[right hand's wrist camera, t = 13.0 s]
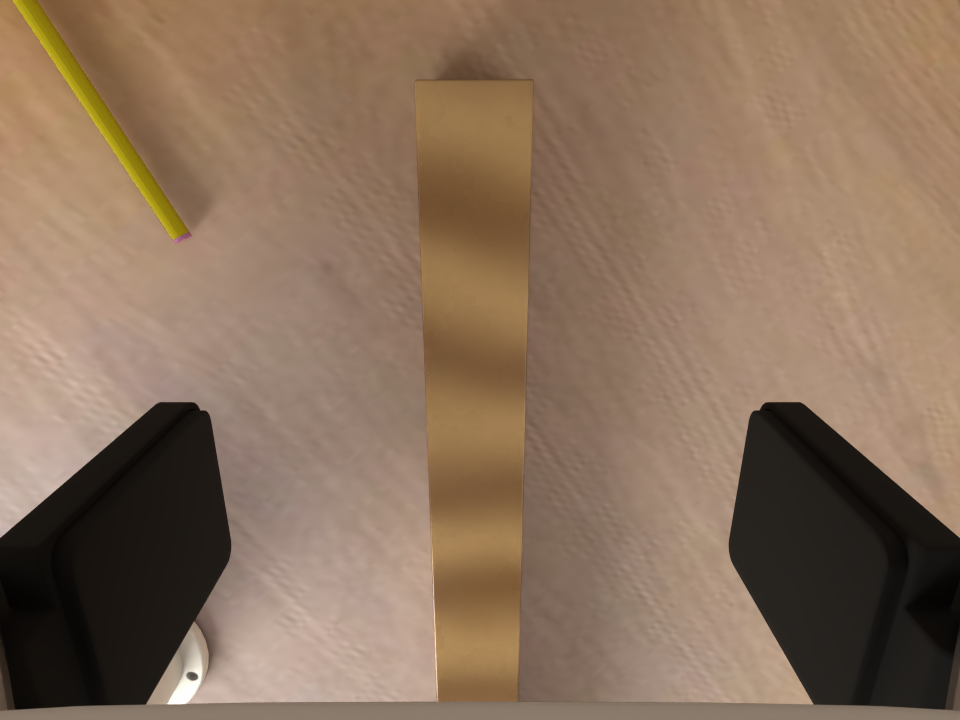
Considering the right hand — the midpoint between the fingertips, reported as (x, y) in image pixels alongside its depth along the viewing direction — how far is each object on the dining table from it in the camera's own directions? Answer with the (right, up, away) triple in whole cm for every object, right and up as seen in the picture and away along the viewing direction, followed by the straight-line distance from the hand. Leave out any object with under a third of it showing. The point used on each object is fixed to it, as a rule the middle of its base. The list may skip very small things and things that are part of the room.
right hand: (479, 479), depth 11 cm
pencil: (-21, +16, +23) cm, 35 cm away
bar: (0, -16, +35) cm, 39 cm away
